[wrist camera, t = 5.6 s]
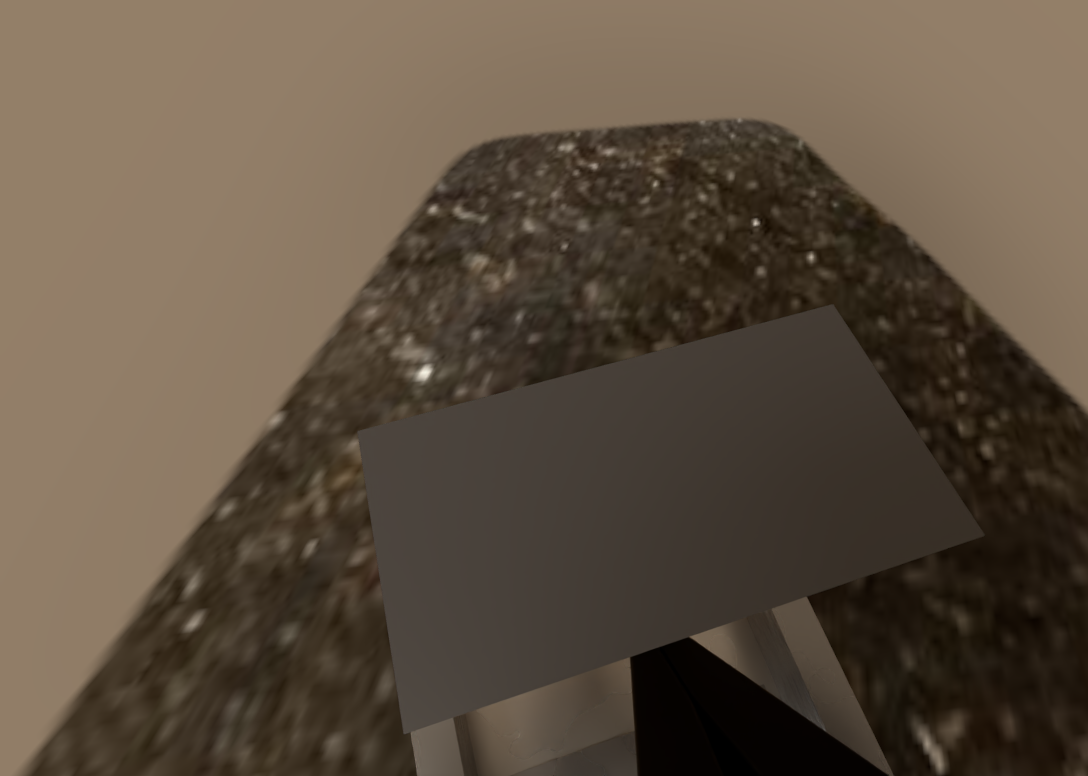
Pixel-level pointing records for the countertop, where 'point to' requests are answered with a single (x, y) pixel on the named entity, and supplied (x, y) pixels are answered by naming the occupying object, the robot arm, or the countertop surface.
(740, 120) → the countertop surface
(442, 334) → the countertop surface
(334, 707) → the countertop surface
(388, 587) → the tan tall block
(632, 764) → the gray rectangular tray
